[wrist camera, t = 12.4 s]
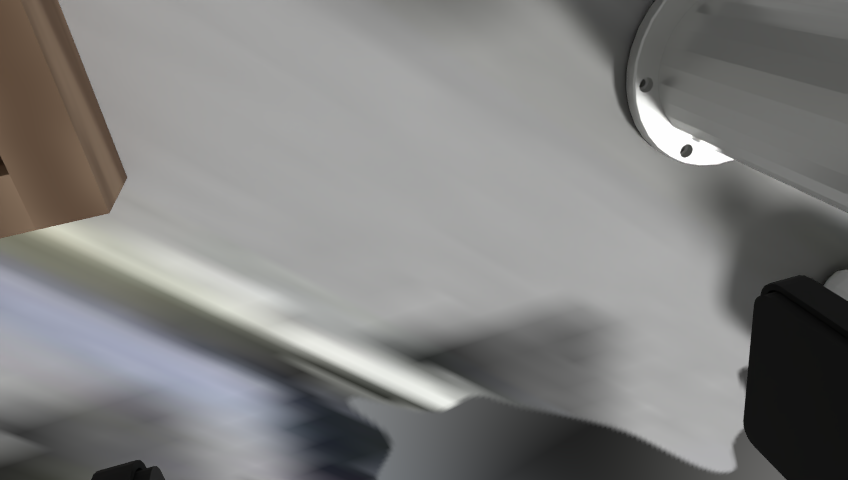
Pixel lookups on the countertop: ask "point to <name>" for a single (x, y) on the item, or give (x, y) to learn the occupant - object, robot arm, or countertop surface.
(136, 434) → the countertop surface
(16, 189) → the bore block
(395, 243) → the countertop surface
